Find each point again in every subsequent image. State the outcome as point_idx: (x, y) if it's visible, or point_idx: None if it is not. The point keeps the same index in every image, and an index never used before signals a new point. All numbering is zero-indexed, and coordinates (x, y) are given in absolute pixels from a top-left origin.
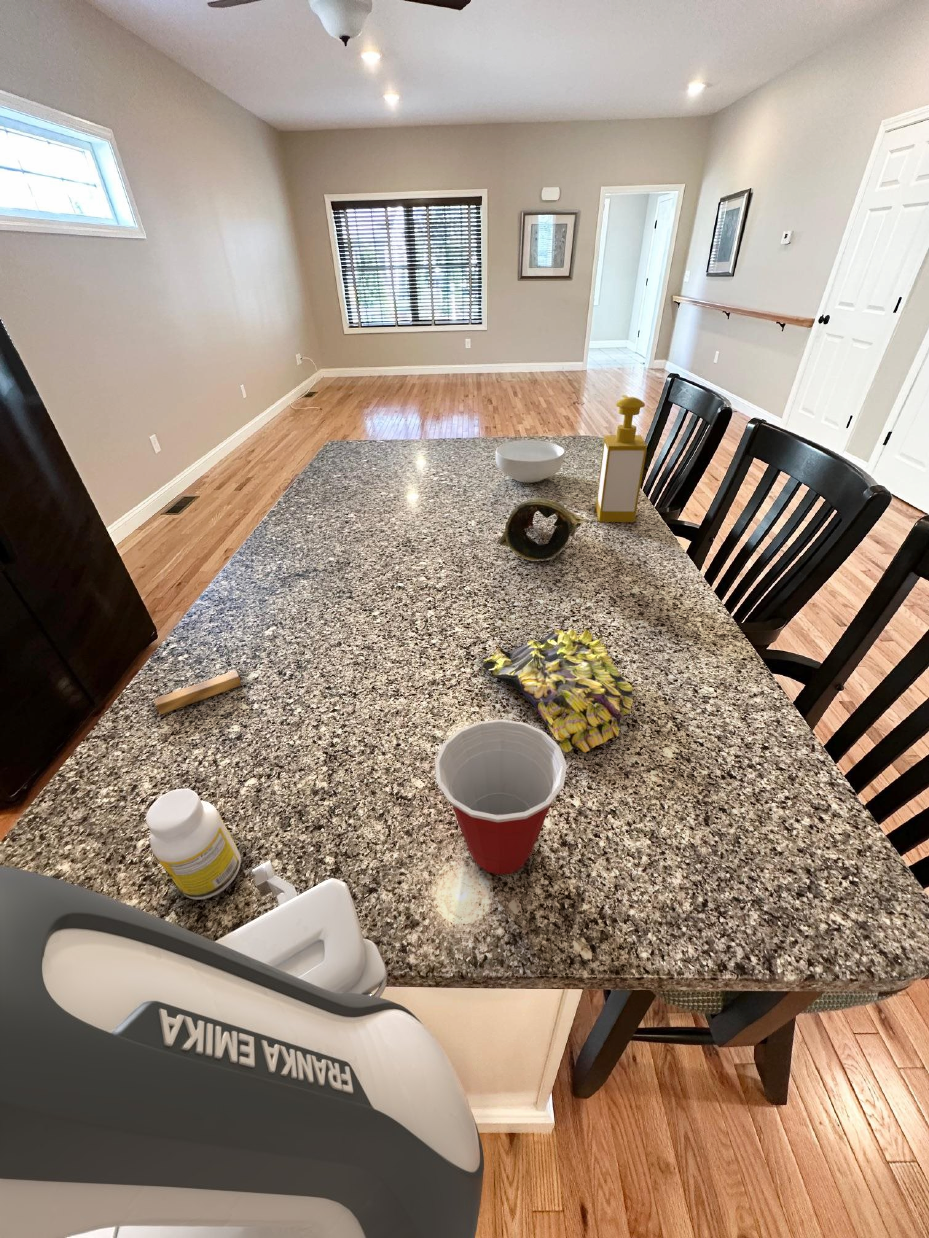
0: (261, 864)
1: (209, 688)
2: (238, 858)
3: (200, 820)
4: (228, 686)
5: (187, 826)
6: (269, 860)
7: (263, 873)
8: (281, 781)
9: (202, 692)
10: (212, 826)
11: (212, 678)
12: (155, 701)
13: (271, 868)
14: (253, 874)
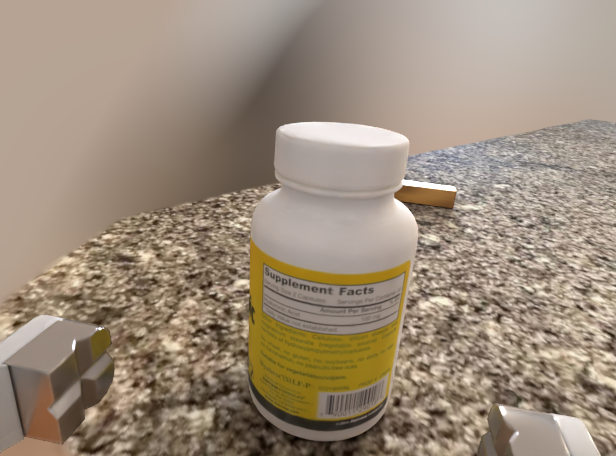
0: (538, 412)
1: (413, 188)
2: (388, 394)
3: (387, 194)
4: (436, 199)
5: (358, 172)
6: (576, 419)
7: (556, 448)
8: (503, 328)
9: (402, 189)
10: (401, 237)
11: (420, 182)
12: None
13: (598, 453)
14: (505, 423)
